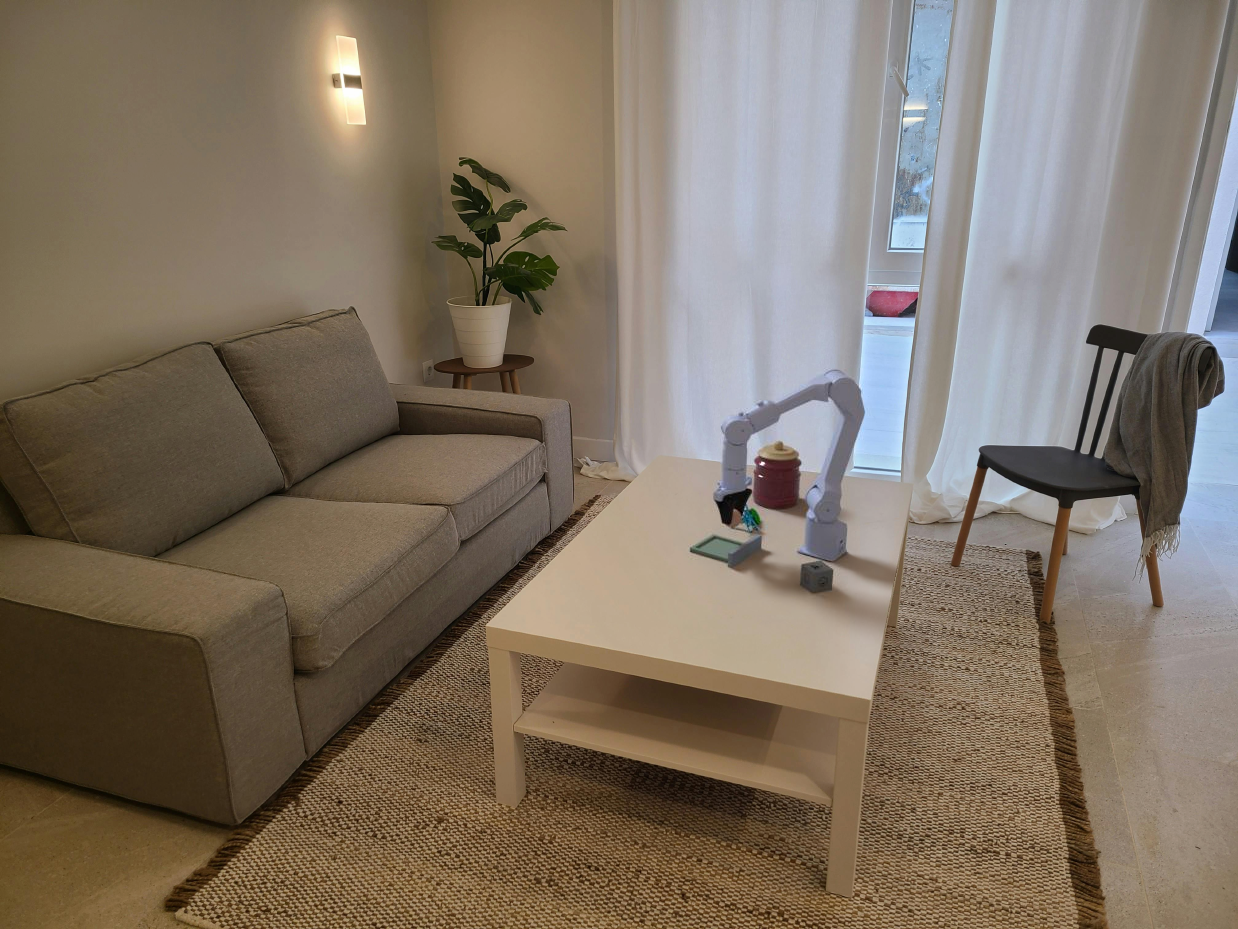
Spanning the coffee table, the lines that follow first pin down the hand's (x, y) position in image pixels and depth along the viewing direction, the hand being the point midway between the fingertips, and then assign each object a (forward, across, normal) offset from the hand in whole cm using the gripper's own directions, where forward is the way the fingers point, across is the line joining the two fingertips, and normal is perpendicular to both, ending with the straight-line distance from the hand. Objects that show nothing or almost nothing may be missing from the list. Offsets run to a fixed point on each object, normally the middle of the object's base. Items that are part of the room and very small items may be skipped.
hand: (731, 520), depth 206 cm
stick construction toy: (+9, -17, -6) cm, 20 cm away
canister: (+9, -38, -8) cm, 40 cm away
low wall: (+8, 0, +4) cm, 9 cm away
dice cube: (+9, +4, +24) cm, 26 cm away
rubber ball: (-1, 0, 0) cm, 1 cm away
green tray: (+8, 0, -3) cm, 9 cm away
